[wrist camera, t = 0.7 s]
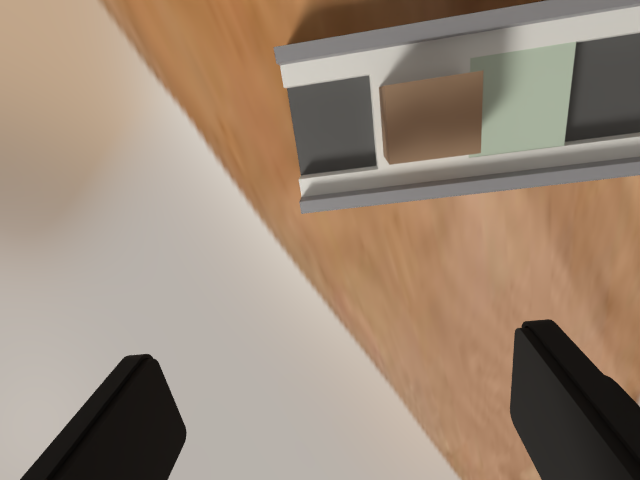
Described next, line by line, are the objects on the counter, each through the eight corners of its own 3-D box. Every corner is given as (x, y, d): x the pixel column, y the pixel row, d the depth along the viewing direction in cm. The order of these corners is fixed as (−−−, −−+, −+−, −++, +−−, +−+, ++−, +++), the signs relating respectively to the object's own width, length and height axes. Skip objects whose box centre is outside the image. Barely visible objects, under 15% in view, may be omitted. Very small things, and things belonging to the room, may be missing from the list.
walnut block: (378, 87, 26) (384, 85, 22) (462, 74, 25) (483, 70, 21) (383, 155, 27) (389, 164, 24) (462, 145, 27) (480, 153, 23)
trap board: (282, 53, 27) (273, 47, 24) (664, -11, 24) (714, -29, 21) (305, 201, 31) (301, 213, 28) (631, 163, 28) (668, 171, 25)
